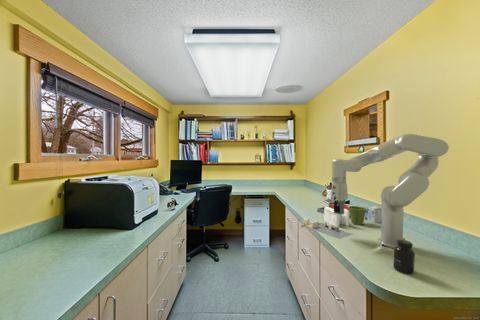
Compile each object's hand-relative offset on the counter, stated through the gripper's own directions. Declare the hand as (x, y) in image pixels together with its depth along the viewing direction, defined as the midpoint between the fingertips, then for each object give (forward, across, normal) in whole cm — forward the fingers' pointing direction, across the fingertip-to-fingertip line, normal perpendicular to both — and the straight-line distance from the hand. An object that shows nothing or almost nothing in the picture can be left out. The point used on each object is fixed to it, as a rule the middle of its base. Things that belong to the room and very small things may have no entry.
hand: (339, 211), depth 121 cm
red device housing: (+15, +53, +31) cm, 63 cm away
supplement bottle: (+16, -11, -35) cm, 40 cm away
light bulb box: (+16, +53, +6) cm, 56 cm away
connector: (+1, 0, 0) cm, 1 cm away
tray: (+15, +53, +31) cm, 63 cm away
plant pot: (+16, +36, +8) cm, 40 cm away
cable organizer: (+16, +20, +14) cm, 29 cm away
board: (+15, +2, +10) cm, 18 cm away
